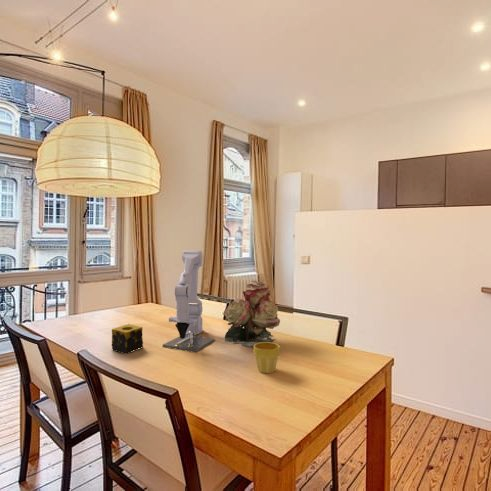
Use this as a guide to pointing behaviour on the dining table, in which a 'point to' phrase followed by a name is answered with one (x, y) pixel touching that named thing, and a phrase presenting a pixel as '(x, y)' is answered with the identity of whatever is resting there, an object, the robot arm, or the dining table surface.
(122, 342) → the candle
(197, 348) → the plate
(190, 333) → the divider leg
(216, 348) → the dining table surface
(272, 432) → the dining table surface
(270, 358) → the plant pot
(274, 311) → the rose bouquet
